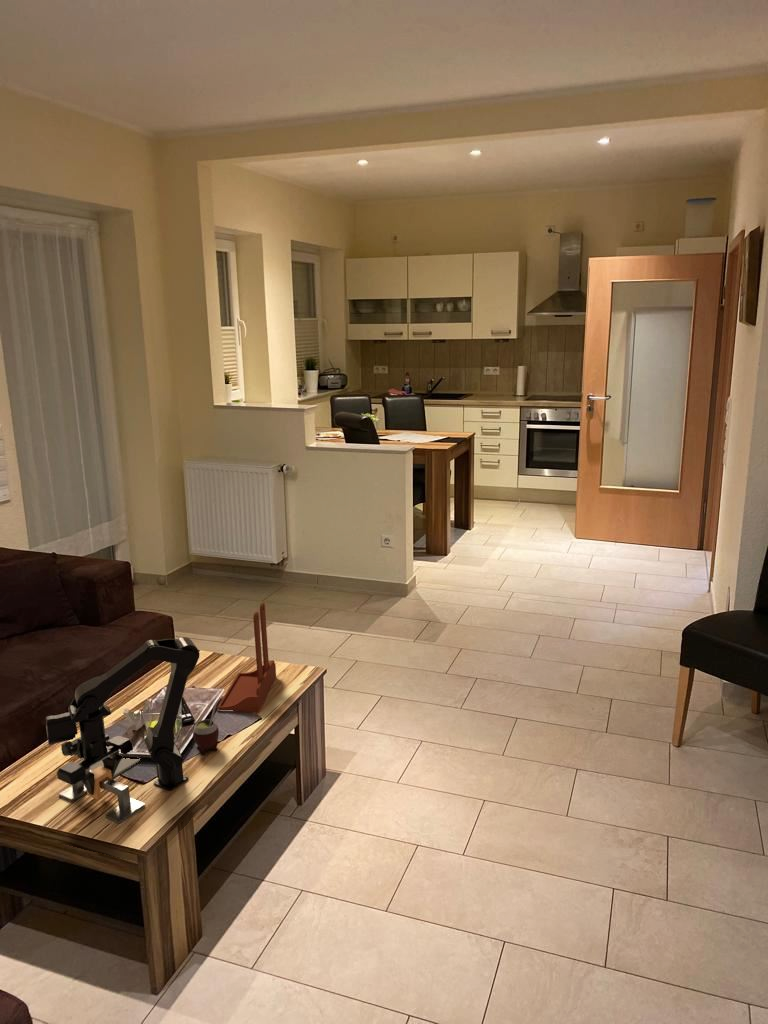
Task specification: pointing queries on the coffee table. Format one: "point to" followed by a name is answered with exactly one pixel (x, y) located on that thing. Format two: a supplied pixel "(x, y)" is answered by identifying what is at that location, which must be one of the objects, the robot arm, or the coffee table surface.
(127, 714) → the grey flat heart piece
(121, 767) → the slate mat
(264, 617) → the hanging shelf
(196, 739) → the mate gourd
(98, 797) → the orange link
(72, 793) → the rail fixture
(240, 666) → the coffee table surface
